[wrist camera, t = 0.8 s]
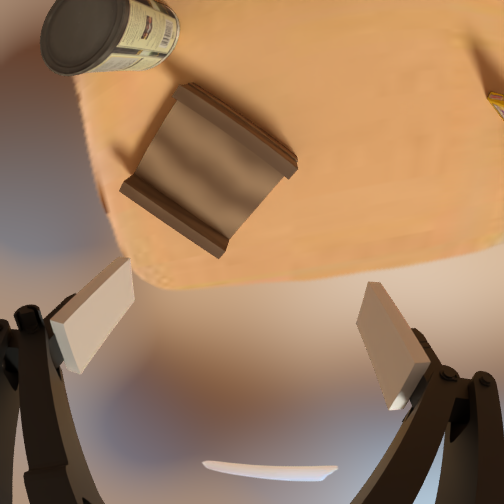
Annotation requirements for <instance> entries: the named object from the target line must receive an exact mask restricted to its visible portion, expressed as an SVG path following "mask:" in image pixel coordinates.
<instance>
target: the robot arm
mask: <svg viewBox="0 0 504 504" xmlns="http://www.w3.org/2000/svg"><path fill="white" fill-rule="evenodd" d="M134 301H135V298H134V290H133V281H132V271H131V260H130V258H126V257H118V258H117V259H115V260H114V261H113V262H112V263H111V264H110V265H108V266H107V267H106V268H105V269H104V270H103V271H102V272H100V273H99V274H98V275H97V276H96V277H95V278H94V279H93V280H91V281H90V282H89V283H88V284H87V285H86V286H85V287H84V288H83V289H82V290H80V291H79V292H78V293H77V294H73V295H71V296H69V297H67V298H65V299H64V301H62V302H61V304H59V305H58V306H57V307H56V309H54V310H53V311H52V312H51V313H50V314H48V316H46V318H44V319H42V315H41V312H40V309H39V307H38V306H36V305H25V306H22V307H21V308H19V309H18V310H17V311H16V312H15V313H14V318H15V321H16V323H17V326H18V328H19V330H14V329H11V328H10V326H9V323H8V321H7V320H4V319H0V504H12V476H13V457H14V456H13V455H14V445H15V435H16V427H17V420H18V414H19V408H20V412H21V421H22V429H23V437H24V444H25V450H26V455H27V461H28V465H29V471H27V472H25V473H24V483H25V487H26V491H27V495H28V499H29V502H30V504H105V503H104V502H103V500H102V499H101V497H100V495H99V493H98V491H97V489H96V486H95V483H94V481H93V479H92V476H91V474H90V471H89V469H88V466H87V463H86V460H85V457H84V454H83V452H82V449H81V445H80V442H79V439H78V436H77V433H76V430H75V426H74V422H73V419H72V415H71V411H70V407H69V403H68V398H67V394H66V390H65V384H64V379H63V374H62V370H61V368H60V364H61V363H62V362H63V361H64V362H65V365H66V367H67V369H68V370H69V371H72V372H75V373H78V374H81V373H82V372H83V370H84V369H85V368H86V366H87V365H88V363H89V362H90V360H91V359H92V358H93V356H94V355H95V353H96V352H97V351H98V349H99V348H100V346H101V345H102V344H103V342H104V341H105V339H106V338H107V337H108V335H109V334H110V333H111V331H112V330H113V329H114V327H115V326H116V324H117V323H118V322H119V320H120V319H121V318H122V317H123V315H124V314H125V313H126V311H127V310H128V308H129V307H130V306H131V305H132V303H133V302H134ZM356 324H357V327H358V329H359V332H360V334H361V337H362V339H363V342H364V344H365V347H366V350H367V352H368V355H369V357H370V360H371V362H372V365H373V368H374V371H375V373H376V376H377V379H378V381H379V384H380V387H381V390H382V393H383V395H384V399H385V401H386V404H387V407H388V410H397V409H404V407H405V406H406V404H407V402H408V401H409V399H410V402H411V404H412V407H411V409H410V410H409V412H408V413H407V415H406V416H405V418H404V419H403V421H402V422H403V423H402V425H401V427H400V429H399V431H398V432H397V434H396V436H395V438H394V440H393V441H392V443H391V445H390V446H389V448H388V450H387V451H386V453H385V455H384V456H383V458H382V459H381V461H380V462H379V464H378V465H377V467H376V468H375V470H374V471H373V473H372V475H371V476H370V477H369V479H368V480H367V482H366V483H365V484H364V486H363V487H362V489H361V490H360V491H359V493H358V494H357V495H356V497H355V498H354V499H353V500H352V502H351V503H350V504H413V502H414V500H415V498H416V496H417V494H418V493H419V491H420V489H421V487H422V485H423V483H424V480H425V478H426V476H427V474H428V472H429V470H430V467H431V465H432V463H433V461H434V458H435V456H436V453H437V451H438V448H439V446H440V443H441V441H442V438H443V435H444V432H445V439H444V450H443V459H442V467H441V474H440V480H439V486H438V492H437V497H436V501H435V504H504V431H503V422H502V414H501V407H500V401H499V395H498V390H497V384H496V381H495V379H494V378H493V377H492V375H490V374H489V373H487V372H483V371H478V372H476V373H475V375H474V376H473V377H472V379H464V378H460V377H459V375H458V373H457V372H456V371H455V370H454V369H453V368H451V367H449V366H446V365H442V364H441V362H440V361H439V359H438V357H437V356H436V354H435V353H434V351H433V350H432V348H431V346H430V345H429V343H427V340H426V338H425V337H424V335H423V334H422V333H421V332H419V331H418V330H417V329H416V328H410V327H409V325H408V323H407V322H406V320H405V319H404V317H403V316H402V314H401V313H400V311H399V309H398V308H397V306H396V305H395V303H394V302H393V300H392V299H391V297H390V296H389V295H388V293H387V292H386V290H385V289H384V287H383V286H382V284H381V283H379V282H368V284H367V288H366V291H365V295H364V298H363V302H362V306H361V309H360V312H359V316H358V319H357V322H356Z"/></svg>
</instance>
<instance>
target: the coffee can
mask: <svg viewBox="0 0 504 504" xmlns="http://www.w3.org/2000/svg"><path fill="white" fill-rule="evenodd" d="M179 32H180V26H179V20H178V18H177V16H176V14H175V13H174V11H173V10H172V9H171V8H169V7H168V6H166V5H164V4H161V3H159V2H157V1H155V0H56V2H55V3H54V4H53V6H52V7H51V9H50V11H49V12H48V14H47V16H46V19H45V21H44V24H43V27H42V31H41V36H40V49H41V55H42V58H43V60H44V62H45V64H46V66H47V67H48V68H49V69H50V70H51V71H53V72H54V73H56V74H58V75H62V76H74V75H79V74H82V73H91V72H106V71H143V70H148V69H151V68H153V67H155V66H157V65H159V64H160V63H161V62H163V61H164V60H165V59H166V58H167V57H168V56H169V55H170V54H171V52H172V51H173V49H174V48H175V46H176V44H177V41H178V38H179Z"/></svg>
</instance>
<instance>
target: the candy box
mask: <svg viewBox="0 0 504 504" xmlns="http://www.w3.org/2000/svg"><path fill="white" fill-rule="evenodd" d="M487 100H488V101H489V102H490V103H491V104H492V106H493V107H494V108H495V110H496V111H497V112H498V114H499V115H500V117H501V118H502V119H503V121H504V95H502V94H498V93H495V92H490V94H489V96H488V98H487Z"/></svg>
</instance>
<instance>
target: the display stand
mask: <svg viewBox="0 0 504 504" xmlns="http://www.w3.org/2000/svg"><path fill="white" fill-rule="evenodd" d="M172 97H173V98H175V99H176V100H177V101H176V103H175V104H174V106H173V107H172V109H171V110H170V112H169V114H168V115H167V117H166V118H165V120H164V122H163V123H162V125H161V127H160V128H159V130H158V132H157V133H156V135H155V137H154V138H153V140H152V142H151V144H150V145H149V147H148V149H147V151H146V152H145V154H144V156H143V158H142V160H141V161H140V163H139V165H138V167H137V169H136V171H135V173H134V174H133V175H132V176H130V177H129V178H128V179H126V180H125V181H124V182H123V184H122V186H121V188H120V190H119V191H120V192H121V193H122V194H124V195H125V196H127V197H128V198H130V199H131V200H132V201H134V202H135V203H137V204H138V205H140V206H141V207H143V208H144V209H145V210H147V211H148V212H150V213H151V214H153V215H154V216H156V217H157V218H158V219H160V220H161V221H163V222H164V223H166V224H167V225H169V226H170V227H172V228H173V229H175V230H176V231H177V232H179V233H180V234H182V235H183V236H185V237H186V238H188V239H189V240H191V241H192V242H194V243H195V244H197V245H198V246H200V247H201V248H203V249H204V250H206V251H207V252H209V253H210V254H212V255H213V256H215V257H216V258H218V259H219V258H220V257H221V256H222V255H223V254H224V253H225V251H226V248H227V245H228V242H229V239H230V238H231V237H232V236H233V235H234V234H235V232H236V231H237V230H238V229H239V228H240V226H241V225H242V224H243V223H244V222H245V221H246V220H247V218H248V217H249V216H250V215H251V214H252V213H253V211H254V210H255V209H256V208H257V207H258V206H259V204H260V203H261V202H262V201H263V200H264V199H265V198H266V196H267V195H268V194H269V193H270V192H271V191H272V190H273V188H274V187H275V186H276V185H277V184H278V183H279V182H280V180H281V179H282V178H283V177H284V176H285V177H286V178H287V179H290V177H291V176H292V175H293V174H294V173H295V172H296V171H297V170H298V167H297V161H298V159H297V156H295V155H294V154H293V153H292V152H290V151H289V150H288V149H286V148H285V147H284V146H283V145H281V144H280V143H279V142H278V141H276V140H275V139H274V138H272V137H271V136H270V135H268V134H267V133H266V132H264V131H263V130H262V129H260V128H259V127H258V126H256V125H255V124H254V123H252V122H251V121H249V120H248V119H247V118H245V117H244V116H242V115H241V114H240V113H238V112H237V111H235V110H234V109H232V108H231V107H230V106H228V105H227V104H225V103H224V102H222V101H221V100H219V99H218V98H216V97H215V96H213V95H212V94H210V93H209V92H207V91H206V90H204V89H202V88H201V87H199V86H198V85H196V84H195V83H188V84H185V85H179V86H178V88H177V89H176V91H175V92H174V94H173V95H172Z"/></svg>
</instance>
